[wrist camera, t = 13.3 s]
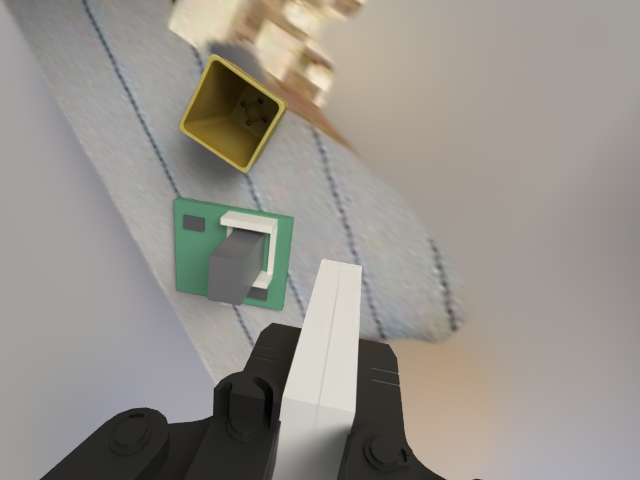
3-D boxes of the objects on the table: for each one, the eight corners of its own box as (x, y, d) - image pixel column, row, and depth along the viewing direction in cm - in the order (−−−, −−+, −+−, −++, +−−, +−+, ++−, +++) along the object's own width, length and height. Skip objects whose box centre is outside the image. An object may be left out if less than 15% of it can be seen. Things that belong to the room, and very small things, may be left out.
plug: (238, 226, 50) (209, 255, 41) (266, 231, 49) (242, 261, 40) (236, 267, 52) (208, 304, 43) (262, 272, 52) (239, 310, 43)
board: (178, 196, 51) (162, 205, 47) (293, 217, 49) (287, 227, 46) (180, 286, 56) (166, 300, 53) (283, 306, 55) (277, 322, 52)
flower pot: (266, 161, 47) (245, 175, 39) (210, 122, 46) (176, 128, 38) (302, 102, 44) (286, 104, 35) (242, 59, 43) (211, 51, 34)
